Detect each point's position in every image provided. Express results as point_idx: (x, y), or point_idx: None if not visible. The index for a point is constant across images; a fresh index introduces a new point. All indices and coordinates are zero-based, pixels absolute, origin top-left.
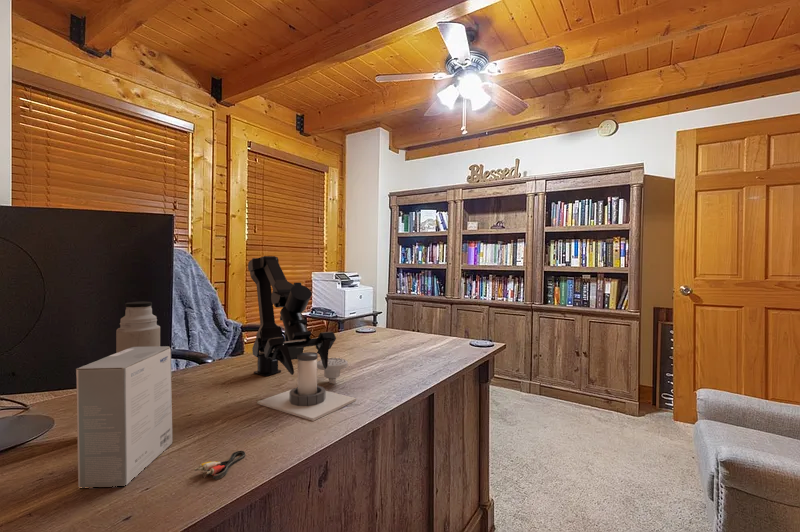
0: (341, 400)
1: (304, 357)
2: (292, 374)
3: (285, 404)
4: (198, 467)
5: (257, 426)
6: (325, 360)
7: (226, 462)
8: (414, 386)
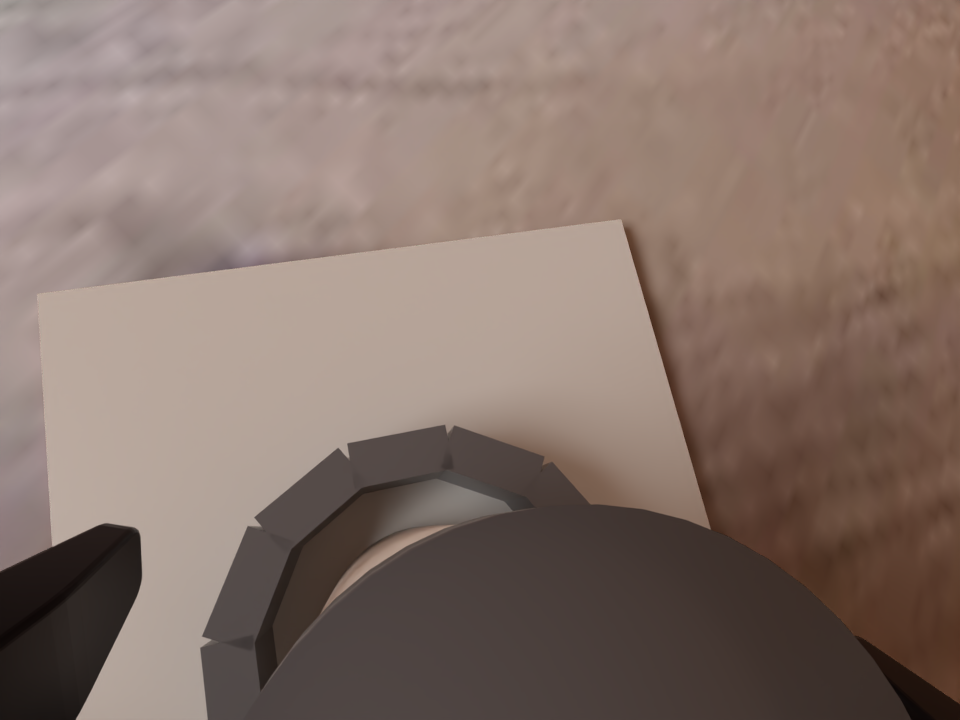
0: (192, 357)
1: (832, 624)
2: None
3: None
4: None
5: (941, 435)
6: (32, 601)
7: None
8: None
